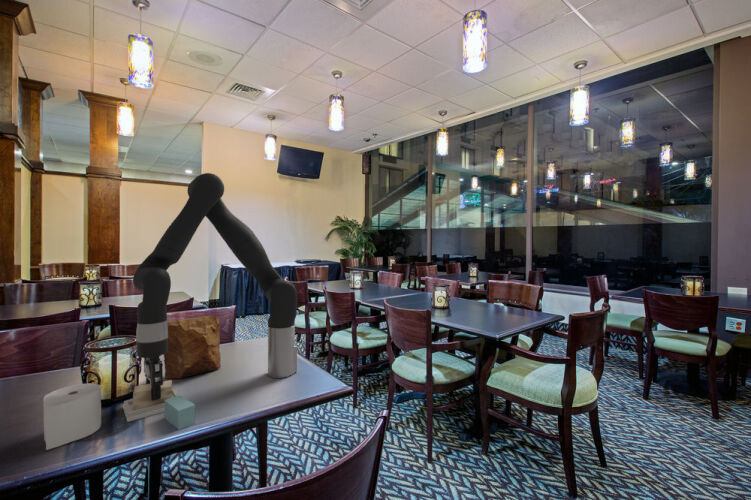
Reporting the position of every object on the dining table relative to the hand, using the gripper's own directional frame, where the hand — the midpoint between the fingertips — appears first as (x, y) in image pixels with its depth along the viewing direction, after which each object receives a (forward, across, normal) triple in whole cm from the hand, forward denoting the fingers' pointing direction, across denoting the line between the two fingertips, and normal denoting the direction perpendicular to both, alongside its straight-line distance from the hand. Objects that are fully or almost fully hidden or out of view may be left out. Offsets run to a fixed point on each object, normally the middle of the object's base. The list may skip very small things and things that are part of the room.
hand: (153, 394), depth 98 cm
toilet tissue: (+4, -3, +17) cm, 18 cm away
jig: (+4, 0, 0) cm, 4 cm away
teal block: (+4, -13, -4) cm, 14 cm away
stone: (+4, +20, -15) cm, 25 cm away
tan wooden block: (+3, 0, 0) cm, 3 cm away
